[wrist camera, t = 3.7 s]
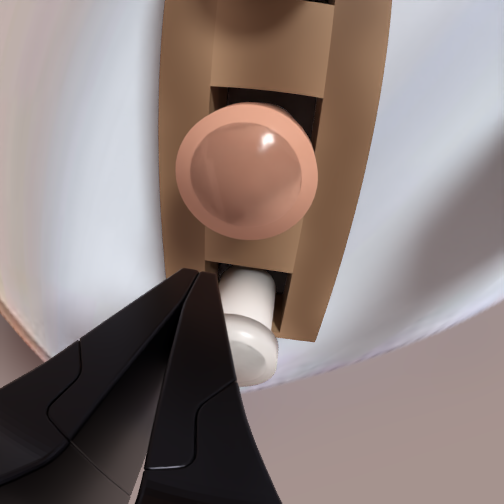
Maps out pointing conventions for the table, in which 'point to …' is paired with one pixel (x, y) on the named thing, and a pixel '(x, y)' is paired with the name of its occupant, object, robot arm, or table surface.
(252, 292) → the grey plug
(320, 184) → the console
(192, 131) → the terracotta plug middle
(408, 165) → the table surface
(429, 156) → the table surface
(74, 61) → the table surface
